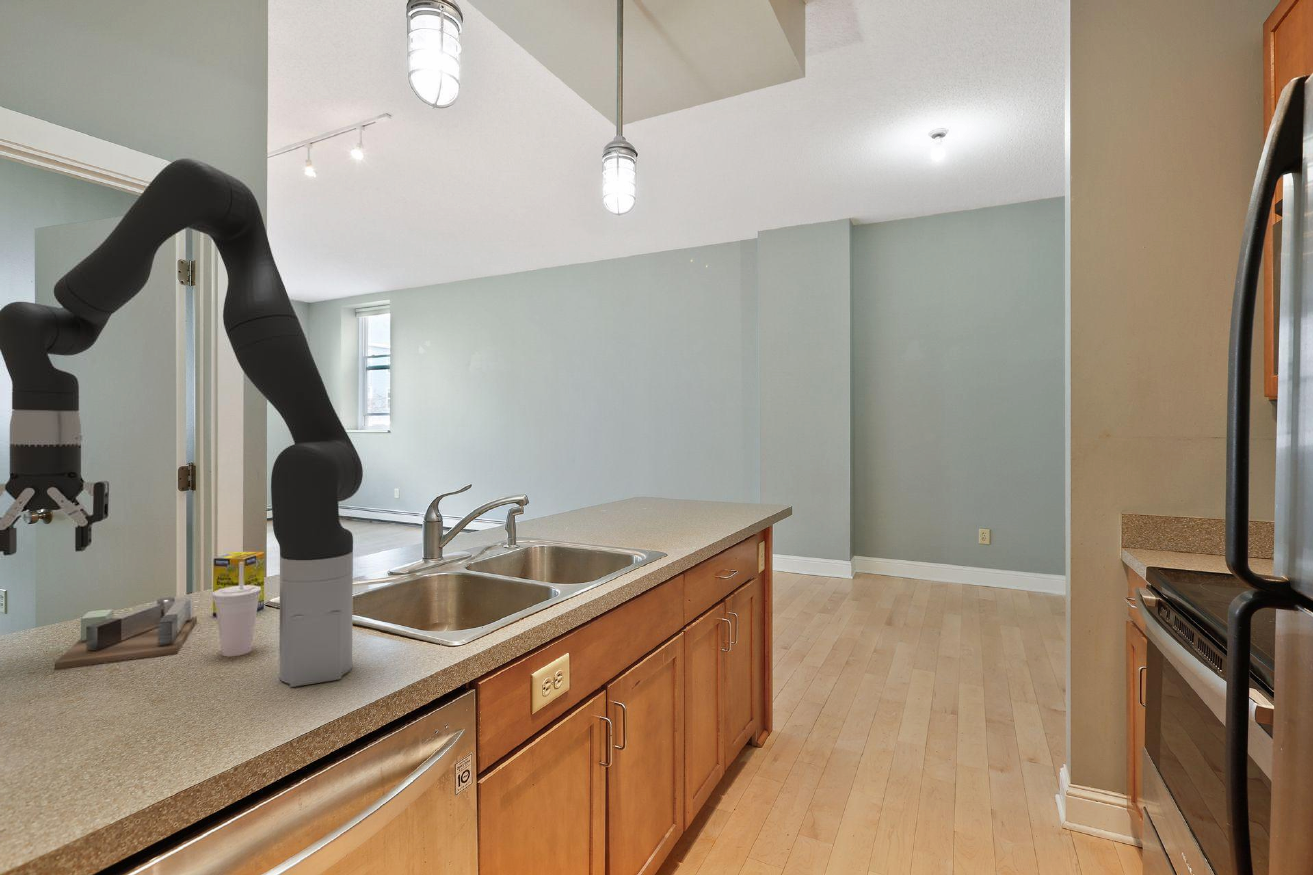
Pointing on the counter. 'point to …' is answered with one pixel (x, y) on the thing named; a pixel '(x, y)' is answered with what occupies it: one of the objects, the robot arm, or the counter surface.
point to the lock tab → (94, 619)
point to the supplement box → (229, 572)
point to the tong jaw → (122, 627)
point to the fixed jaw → (173, 618)
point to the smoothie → (236, 615)
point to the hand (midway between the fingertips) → (46, 552)
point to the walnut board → (124, 649)
